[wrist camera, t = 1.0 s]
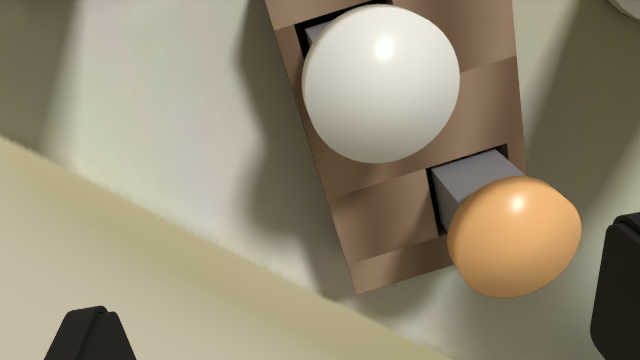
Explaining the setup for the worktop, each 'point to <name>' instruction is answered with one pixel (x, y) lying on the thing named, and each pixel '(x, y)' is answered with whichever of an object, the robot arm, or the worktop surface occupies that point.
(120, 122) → the worktop surface
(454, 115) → the button panel
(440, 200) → the orange button
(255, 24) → the worktop surface
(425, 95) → the white button
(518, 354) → the worktop surface
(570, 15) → the worktop surface
